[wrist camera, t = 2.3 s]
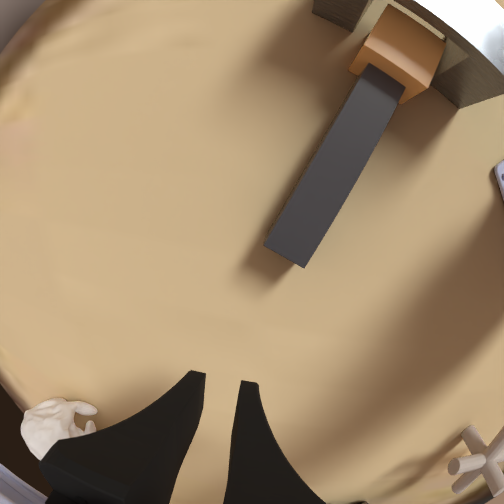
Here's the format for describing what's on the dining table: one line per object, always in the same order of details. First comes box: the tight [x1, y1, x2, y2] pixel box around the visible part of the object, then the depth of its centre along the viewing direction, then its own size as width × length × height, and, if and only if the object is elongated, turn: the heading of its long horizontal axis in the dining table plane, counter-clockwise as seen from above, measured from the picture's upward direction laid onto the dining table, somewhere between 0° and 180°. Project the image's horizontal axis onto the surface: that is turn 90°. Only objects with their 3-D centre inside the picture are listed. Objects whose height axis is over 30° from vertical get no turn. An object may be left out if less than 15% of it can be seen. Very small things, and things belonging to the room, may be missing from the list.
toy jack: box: [448, 425, 504, 497], centre depth 16 cm, size 10×10×10 cm
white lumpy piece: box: [21, 398, 97, 461], centre depth 20 cm, size 6×8×12 cm
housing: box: [312, 0, 504, 109], centre depth 10 cm, size 6×12×6 cm, turn 61°
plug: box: [264, 4, 447, 268], centre depth 14 cm, size 16×4×4 cm, turn 151°
